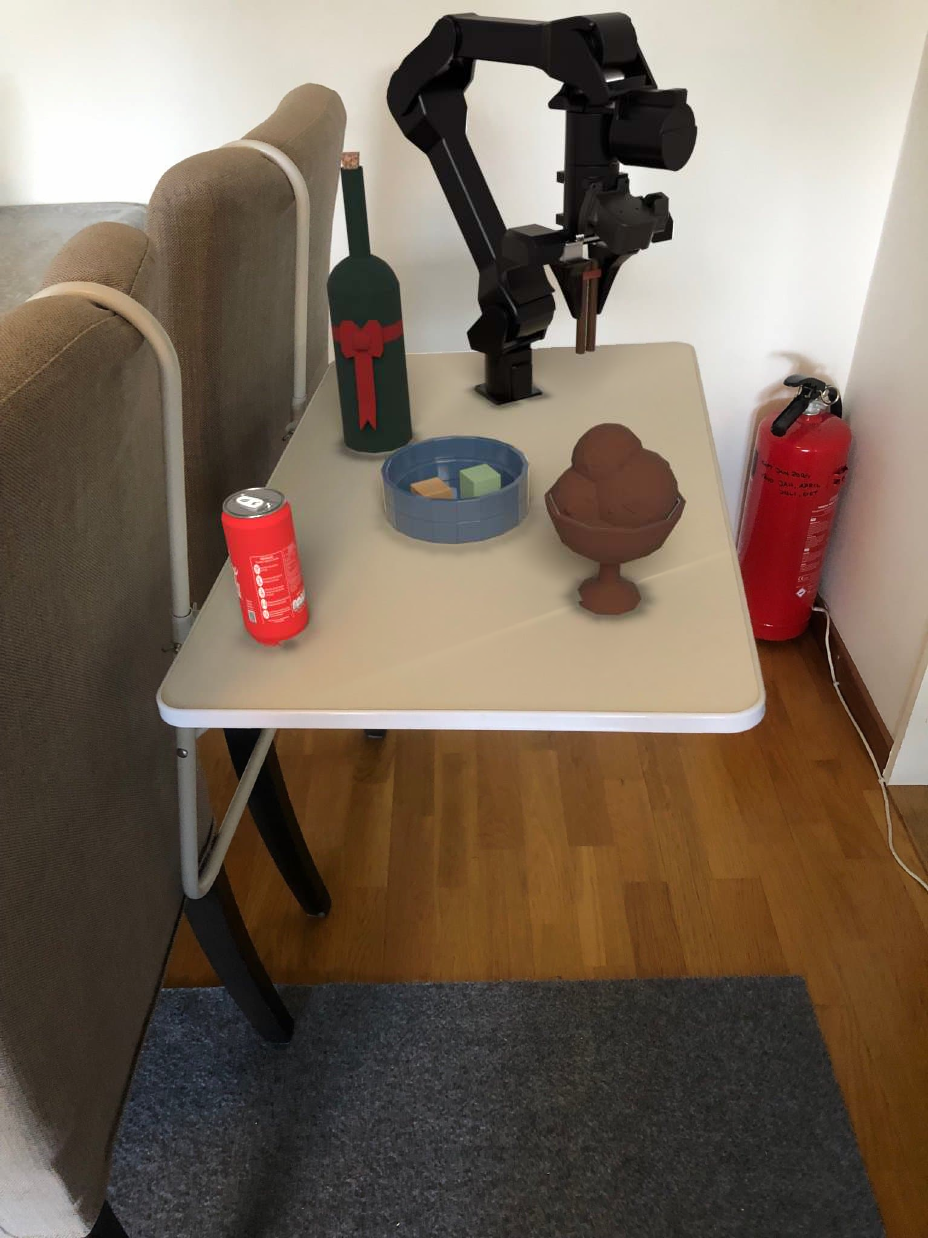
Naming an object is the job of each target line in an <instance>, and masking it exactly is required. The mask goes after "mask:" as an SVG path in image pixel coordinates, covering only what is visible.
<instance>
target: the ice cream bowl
mask: <svg viewBox="0 0 928 1238" xmlns="http://www.w3.org/2000/svg"><path fill="white" fill-rule="evenodd" d="M570 461H571V462H570V463H571V465H570V466H569V467H568V468H567V469H565V471H563V473H562V474H561V475H560V476H559V477H558V478H557V479H556V481H555V482H554V484H552V486H551V487H550V488H549V489H548V490H547V491H546V492H545V493H544V494H543V496H544V497H543V498H544V502H545V507H546V511H547V514H548V516H549V518H550V520H551V522H552V525H553V527H554V529H555V531H556V533H557V534H558V537H559V539H560V542H561V543H562V544H563V545H564V546H565V547H567V548H568V549H570V550H571V551H572V552H573V553H575V554H578V555H580V556H582V557H584V558H586V559H589V560H591V561H593V562H595V563H598V564H599V568H598V575H595V576H591V577H588V578H586V579H584V580H583V581H582V582H581V584H580V585H579V586H578V588H577V592H578V595H579V596H580V598H581V600H580V601H578V604H579V606H580V607H582V608H584V609H586V610H588V611H590V612H592V613H593V614H597V615H608V616H609V615H610V616H611V615H612V616H618V615H621V614H624V613H627V612H631V611H633V610H635V609H636V607H637V606H638V604H639V603H640V602H641V600H642V596H641V593H640V591H639V589H638V587H637V585H636V583H635V582H634V581H632V580H630V579H627V578H625V577H622V576H621V565H623V564H627V563H630V562H634V561H636V560H639V559H643V558H645V557H648V556H650V555H652V554H653V553H655V552H657V551H658V550H660V549H661V548H662V547H663V545H664V544H665V542H666V541H667V540H668V538H669V536H670V534H671V533H672V532H673V530H674V528H675V527H676V526H677V524H678V522H679V521H680V520H681V518H682V515H683V512H684V509H685V507H686V504H687V500H686V499H685V498H684V496H683V495H682V494H681V492H680V491H679V485H678V484H679V483H678V480H677V478H676V476H675V473H674V471H673V469H672V468H671V464H670V462H669V461H668V460H666V459H665V458H664V457H663V456H662V455H660V454H659V453H658V452H656V451H653V450H650V449H648V448H645V447H644V446H643V444H642V440H641V439H640V438H639V437H638V436H637V435H636V434H635V433H634V432H633V431H632V430H631V429H630V427H628V426H626V425H623V424H621V423H613V422H603V423H599V424H596V425H594V426H592V427H591V428H589V429H588V430H587V431H585V432H584V433H583V434H582V435H581V436H580V437H579V438H578V440H577V442H576V444H575V445H574V447H573V449H572V454H571V459H570Z"/></svg>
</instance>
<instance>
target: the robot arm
mask: <svg viewBox="0 0 928 1238" xmlns="http://www.w3.org/2000/svg"><path fill="white" fill-rule="evenodd" d="M477 61H483V62H484V61H485V62H492V63H493V62H494V63H501V64H509V65H517V66H526V67H533V68H536V69H538V70H541V71H542V72H543V73H544V74H546V76H548V77H549V78H551V79H553V80H555V81H558V82H560V83H562V85H561V88H560V89H559V90H558V91H557V93H556V94H555V95H553V96H552V97H551V99H550V100H548V102H547V108H548V109H549V110H556V111H565V113H564V114H565V115H564V119H565V120H564V122H565V123H564V157H563V158H564V159H563V161H564V162H563V170H557V171H556V179H555V180H556V181H555V182H556V183H558V184H562V185H563V193H562V194H563V197H562V198H563V200H562V212H558V213H555V225H557V226H561V227H562V229H553V228H550V227H548V226H547V227H546V226H544V225H541V224H537V223H531V224H526V225H525V224H524V225H520V226H515V227H509V228H507V226H506V224H505V222H504V219H503V217H502V214H501V213H500V210H499V207H498V206H497V203H496V201H495V199H494V196H493V194H492V192H491V190H490V187H489V185H488V183H487V180H486V178H485V176H484V173H483V171H482V168H481V167H480V164H479V162H478V160H477V157H476V154H475V153H474V150H473V148H472V146H471V144H470V143H471V142H470V141H469V138H468V136H467V128H468V113H469V107H468V104H467V100H466V97H465V93H466V91H468V89H469V87H470V86H471V84H472V82H473V81H474V79H475V75H476V68H477ZM688 93H689V91H688V89H687V88H686V87H672V88H668V89H660V88H659V86H658V84H657V82H656V79H655V77H654V76H653V73H652V71H651V68H650V66H649V64H648V62H647V60H646V58H645V55H644V53H643V51H642V48H641V46H640V45H639V42H638V36H637V32H636V27H635V25H634V24H633V23H632V18H631V17H630V16H629V15H628V14H627V13H624V12H621V11H612V12H602V13H601V12H600V13H593V14H582V15H574V16H569V17H564V18H558V19H553V20H549V21H547V20H536V19H523V18H510V17H501V16H500V17H498V16H486V15H479V14H477V13H475V12H472V11H471V12H462V13H461V12H460V13H450V14H449V13H448V14H443V16H442V17H441V18H438V20H437V21H436V22H435V24H434V25H433V27H432V29H431V30H430V32H429V33H428V35H427V36H426V37H425V38H424V39H423V40H422V41H421V42H420V43H419V44H418V45H416V46H415V47H414V48H413V49H412V50H411V51H410V52H409V53H408V54H407V55H406V56H405V57H404V58H403V59H402V61H401V63H400V65H399V66H398V67H397V69H395V70H394V71H393V73H392V74H391V76H390V79H389V82H388V85H387V89H386V97H385V98H386V104H387V107H388V110H389V112H390V114H391V116H392V118H393V119H394V121H395V123H396V125H397V126H398V128H399V130H400V131H401V133H402V134H403V136H404V138H405V139H407V140H408V141H409V142H410V143H411V144H412V145H414V146H415V147H416V148H417V149H419V150H420V151H421V153H423V154H424V155H426V157H427V159H428V161H429V163H430V165H431V167H432V170H433V172H434V175H435V176H436V179H437V181H438V184H439V185H440V187H441V190H442V192H443V194H444V196H445V199H446V200H447V204H448V205H449V207H450V210H451V212H452V214H453V217H454V219H455V221H456V224H457V226H458V228H459V230H460V233H461V235H462V237H463V240H464V241H465V243H466V246H467V248H468V251H469V253H470V255H471V257H472V260H473V262H474V264H475V266H476V269H477V273H478V287H477V288H478V289H477V303H478V306H479V309H480V312H481V315H480V316H479V317H478V318H477V319H476V321H475V322H474V323H473V324H472V325H471V326H470V328H469V329H467V331H466V336H467V340H468V343H469V348H470V350H472V351H475V352H478V353H481V354H483V355H484V382H483V383H478V384H475V385H474V390H475V391H476V392H477V393H479V394H480V395H482V396H483V397H485V398H486V399H488V400H490V401H491V402H492V403H494V404H496V405H498V406H502V405H506V404H510V403H514V402H519V401H523V400H526V399H530V398H534V397H539V396H542V395H543V389H541V388H540V387H537V386H536V385H534V384H533V374H534V373H533V372H534V371H533V367H534V365H533V348H532V344H533V343H536V342H538V341H543V340H545V337H546V334H547V331H548V328H549V326H550V325H552V324H551V323H552V322H553V319H554V316H555V311H556V310H557V305H556V299H555V298H554V295H553V294H554V293H555V292H556V289H555V288H554V286H553V285H552V284H551V283H550V281H549V278H548V276H547V273H546V269H545V266H548V267H549V268H550V270H551V272H552V274H553V276H554V278H555V279H556V281H557V284H558V286H559V289H560V291H561V294H562V296H563V298H564V301H565V303H566V305H567V308H568V311H569V313H570V316H571V317H572V319H574V320H576V321H577V320H578V319H580V317H581V311H582V296H583V273H584V271H585V269H586V268H587V266H588V264H589V263H590V261H591V260H590V258H598V259H599V269H601V277H599V280H598V301H597V316H598V315H601V314H602V313H603V310H604V308H605V305H606V302H607V300H608V297H609V295H610V292H611V289H612V287H613V284H614V282H615V280H616V277H617V276H618V274H619V271H620V269H621V268H622V266H623V264H624V263H625V262H626V261H628V260H629V259H630V258H631V257H633V256H634V255H638V254H639V252H640V251H644V250H647V249H649V247H650V245H651V243H652V244H658V243H663V242H667V241H672V240H673V239H674V232H675V231H674V229H675V221H674V218H673V217H672V214H671V212H670V197H668V196H667V195H666V194H665V193H664V192H663V191H657V192H651V193H647V194H645V196H643V195H638V196H637V195H636V196H634V195H633V194H631V190H630V184H631V183H630V182H631V179H630V178H629V172H625V171H621V169H622V165H623V166H626V167H633V168H642V169H650V170H657V171H658V170H659V171H667V172H674V173H675V172H679V171H680V170H682V169H683V168H684V167H685V166H686V165H687V163H688V162H689V161H690V159H691V157H692V155H693V152H694V149H695V146H696V143H697V138H698V126H697V125H696V116H695V113H694V110H693V109H692V106H690V104H688ZM585 245H587V257H585V256H583V255H584V254H583V253H584V251H583V250H584V246H585Z"/></svg>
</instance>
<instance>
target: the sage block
mask: <svg viewBox="0 0 928 1238" xmlns="http://www.w3.org/2000/svg"><path fill="white" fill-rule="evenodd" d="M500 489H501V475H500V474H499V473H497V472H496V471H495V470H493V469H492V468H491V467H490V466H488V465H487V464H482V465H479V466H475V467H471V468H468V469H464V470H460V493H461V498H468V497H476V496H481V495H484V494H488V493H491V492H495V491H498V490H500Z"/></svg>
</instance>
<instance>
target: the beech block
mask: <svg viewBox="0 0 928 1238" xmlns="http://www.w3.org/2000/svg"><path fill="white" fill-rule="evenodd" d="M411 493H412V494H415V495H420V496H425V497H430V498H445V499H452V489H451V488H450V487H449V486H448V485H446V484H445V483H444V482H443V481H442V480H441V479H439V478H438V477H435V478H432V479H428V480H424V481H421V482H417V483H414V484H411Z"/></svg>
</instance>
